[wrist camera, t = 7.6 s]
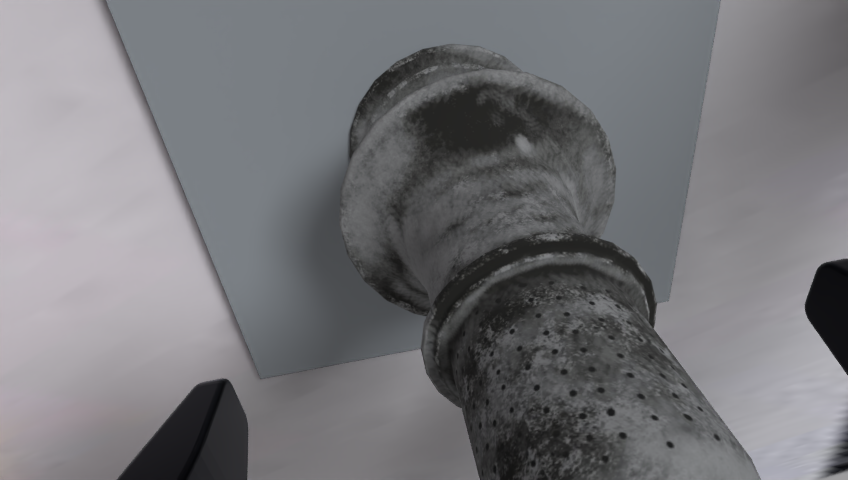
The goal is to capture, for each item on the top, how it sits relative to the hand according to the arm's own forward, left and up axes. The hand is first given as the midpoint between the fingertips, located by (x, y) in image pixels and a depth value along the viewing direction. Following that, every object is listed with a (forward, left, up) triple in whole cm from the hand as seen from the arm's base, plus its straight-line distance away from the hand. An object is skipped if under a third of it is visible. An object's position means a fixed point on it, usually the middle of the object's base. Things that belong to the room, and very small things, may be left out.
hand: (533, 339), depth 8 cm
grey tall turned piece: (0, 0, -8) cm, 8 cm away
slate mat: (0, 0, -8) cm, 8 cm away
